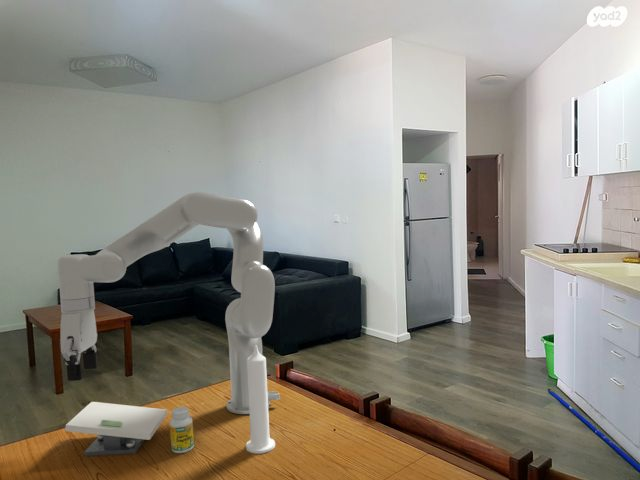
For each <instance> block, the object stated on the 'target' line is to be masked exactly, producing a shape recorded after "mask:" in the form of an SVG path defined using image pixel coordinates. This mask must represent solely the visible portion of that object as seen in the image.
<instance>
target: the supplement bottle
mask: <svg viewBox="0 0 640 480" xmlns="http://www.w3.org/2000/svg"><path fill="white" fill-rule="evenodd" d="M171 417H172V418H171V419H170V421H169V431H170V432H169V433H170V435H169V436H170V445H171V451H172V452H173V453H175V454H183V453H184V454H185V453H188V452H190V451H191V450H192V449H194V446H195V440H194V439H195V438H194V425H193V424H194V423H193V422H194V421H193V418H192V416H190V409H189V407H187V406H179V407H176V408H174V409H172V410H171Z"/></svg>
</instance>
